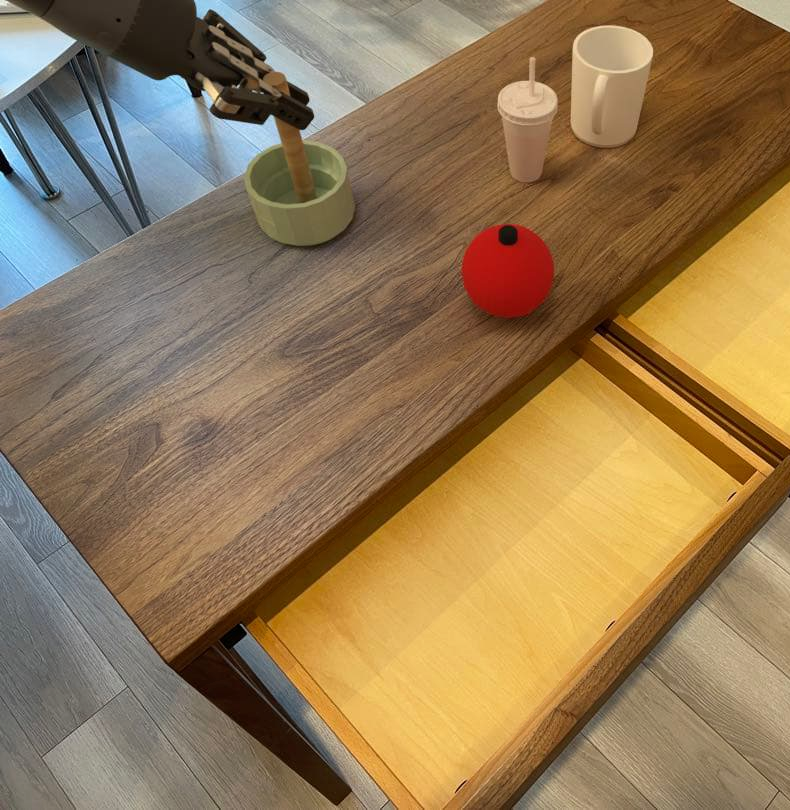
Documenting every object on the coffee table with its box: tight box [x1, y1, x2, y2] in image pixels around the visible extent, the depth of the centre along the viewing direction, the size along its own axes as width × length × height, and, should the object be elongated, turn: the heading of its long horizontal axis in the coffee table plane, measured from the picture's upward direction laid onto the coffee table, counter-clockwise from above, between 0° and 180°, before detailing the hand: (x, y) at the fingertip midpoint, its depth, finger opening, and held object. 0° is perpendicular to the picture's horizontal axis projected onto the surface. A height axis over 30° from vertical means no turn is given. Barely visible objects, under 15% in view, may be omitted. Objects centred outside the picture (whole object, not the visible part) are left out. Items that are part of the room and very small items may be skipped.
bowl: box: [243, 139, 356, 247], centre depth 82 cm, size 10×10×6 cm
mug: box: [570, 24, 654, 149], centre depth 90 cm, size 11×9×10 cm
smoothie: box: [496, 56, 559, 183], centre depth 84 cm, size 6×6×14 cm
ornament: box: [461, 223, 555, 319], centre depth 75 cm, size 9×9×10 cm
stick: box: [263, 71, 318, 203], centre depth 77 cm, size 2×2×15 cm
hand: (306, 112), depth 75 cm, fingers closed on stick, 2 cm apart
